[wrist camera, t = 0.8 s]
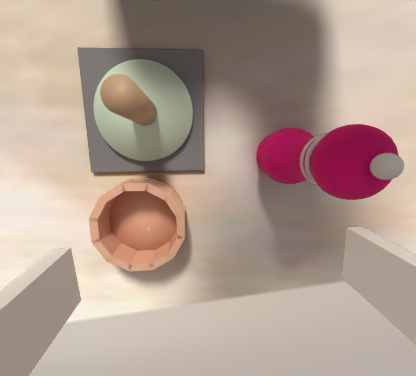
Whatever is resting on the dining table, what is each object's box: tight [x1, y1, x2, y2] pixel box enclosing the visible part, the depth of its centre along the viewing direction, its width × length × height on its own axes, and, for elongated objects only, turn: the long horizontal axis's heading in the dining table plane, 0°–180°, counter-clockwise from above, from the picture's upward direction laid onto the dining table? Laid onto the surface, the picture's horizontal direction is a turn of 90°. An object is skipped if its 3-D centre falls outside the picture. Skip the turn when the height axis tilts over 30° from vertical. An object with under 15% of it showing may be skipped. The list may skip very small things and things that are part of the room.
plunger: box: [94, 59, 193, 161], centre depth 25 cm, size 13×13×11 cm
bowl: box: [89, 178, 186, 271], centre depth 31 cm, size 12×12×5 cm
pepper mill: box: [257, 124, 404, 200], centre depth 24 cm, size 7×7×20 cm
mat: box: [78, 48, 204, 172], centre depth 31 cm, size 16×16×1 cm
